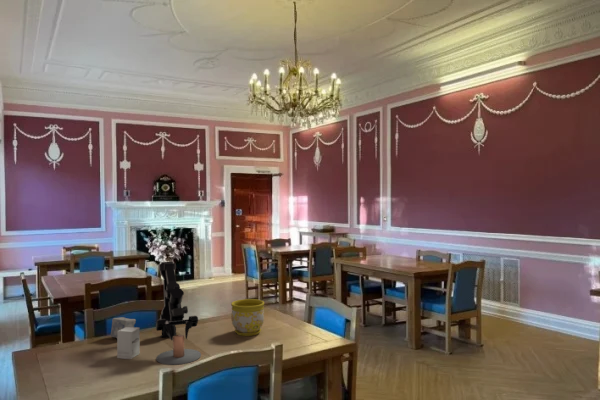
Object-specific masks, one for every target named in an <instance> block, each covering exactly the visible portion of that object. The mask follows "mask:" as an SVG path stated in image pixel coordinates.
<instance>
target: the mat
mask: <svg viewBox="0 0 600 400" xmlns="http://www.w3.org/2000/svg"><path fill="white" fill-rule="evenodd" d="M201 353H202V352H200V351H199V350H197V349H193V348H192V349H191V348H184V356H183V357H178V358H176V357H173V349H170V350H168V351H167V350H166V351H163V352H161V353H159V354H158V355H157V356H156V362H158V363H159V364H162V365H168V366H169V365H170V366H177V365H178V366H179V365H186V364H190V363H194V362H195V361H198V360H199V359H200V358H201V356H202V354H201Z"/></svg>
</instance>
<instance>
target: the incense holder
mask: <svg viewBox="0 0 600 400" xmlns="http://www.w3.org/2000/svg"><path fill="white" fill-rule="evenodd" d="M111 320H112V322H111V330H110V337H111V338H116V339H117V331H119V330H121V329H123V328H125V327H135V325H136V321H137V320H136V319H135V318H126V317H124V316H122V317H121V316H120V317H114V318H112V319H111Z"/></svg>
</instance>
